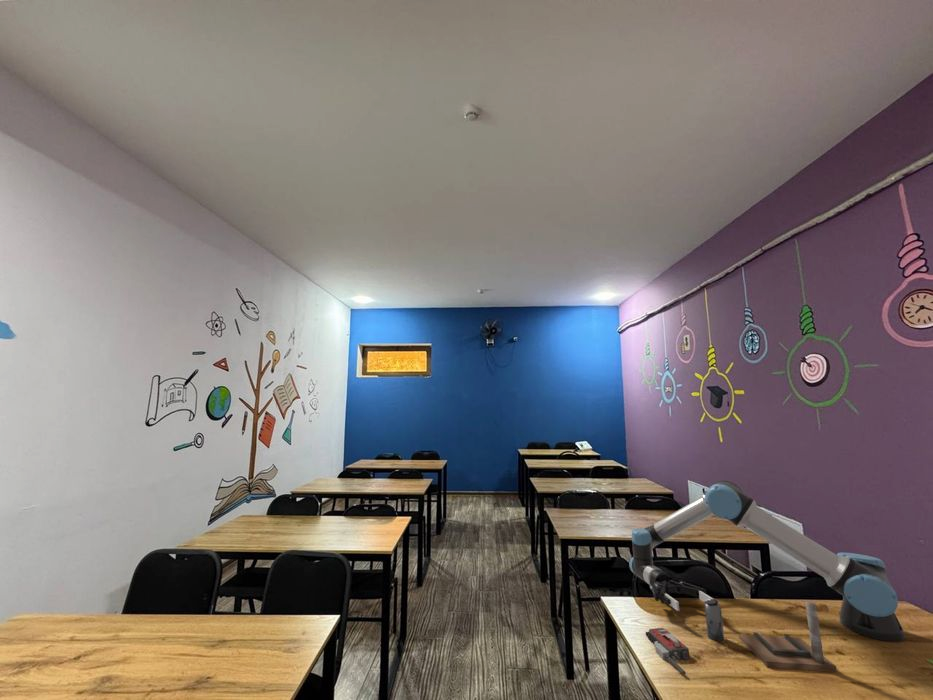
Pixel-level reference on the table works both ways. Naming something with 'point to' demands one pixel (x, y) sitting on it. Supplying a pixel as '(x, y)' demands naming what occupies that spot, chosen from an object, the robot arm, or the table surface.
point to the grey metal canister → (714, 620)
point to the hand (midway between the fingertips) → (696, 605)
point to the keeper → (792, 646)
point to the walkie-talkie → (668, 646)
